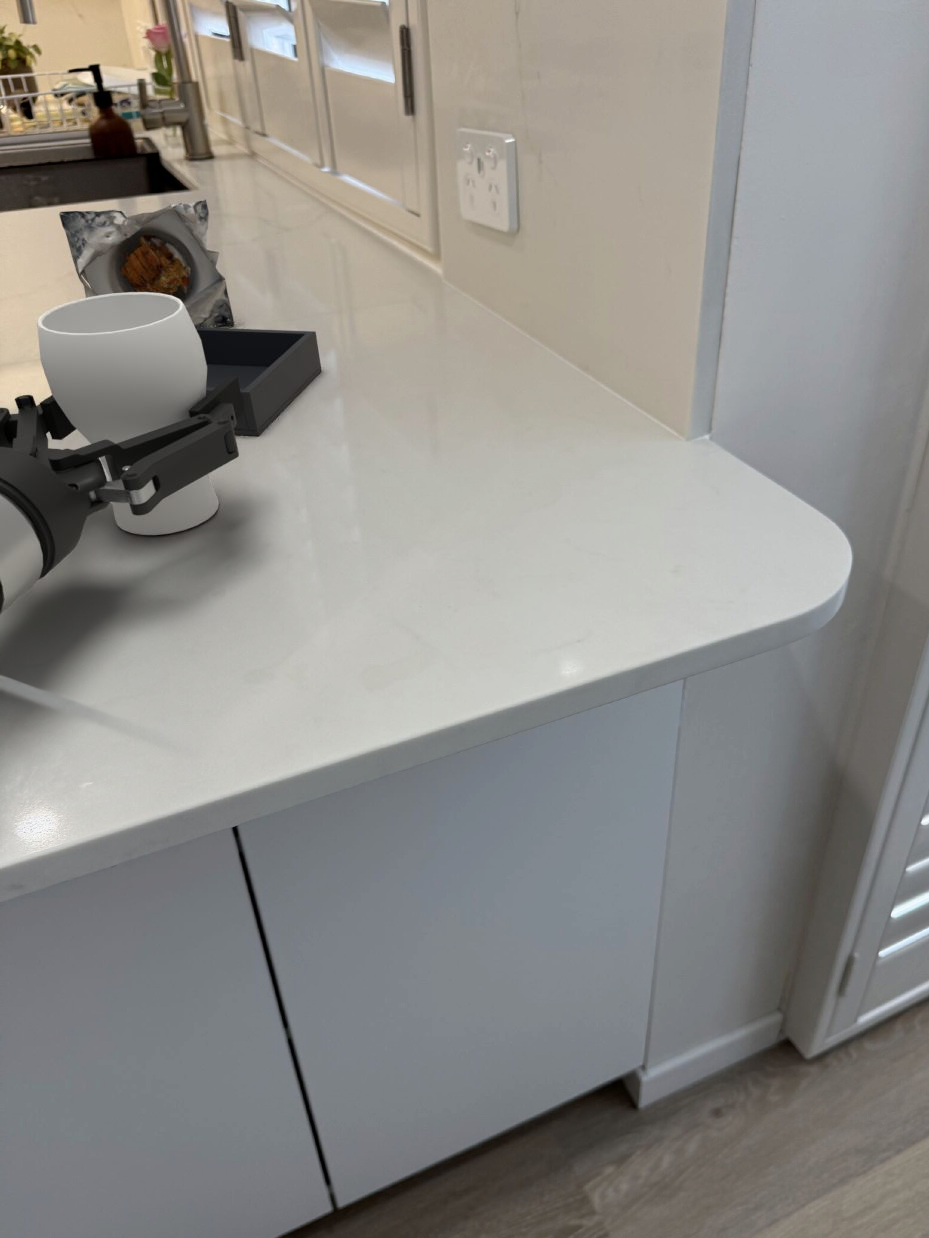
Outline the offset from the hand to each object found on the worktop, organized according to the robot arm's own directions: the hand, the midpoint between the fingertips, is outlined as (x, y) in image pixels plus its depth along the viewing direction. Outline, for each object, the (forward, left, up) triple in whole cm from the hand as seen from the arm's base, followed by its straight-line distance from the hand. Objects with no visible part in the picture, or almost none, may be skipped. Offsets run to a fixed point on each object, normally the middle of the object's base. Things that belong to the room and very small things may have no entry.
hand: (166, 391), depth 71 cm
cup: (0, -4, -8) cm, 9 cm away
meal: (-21, +37, -8) cm, 43 cm away
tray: (-7, +19, -8) cm, 22 cm away
